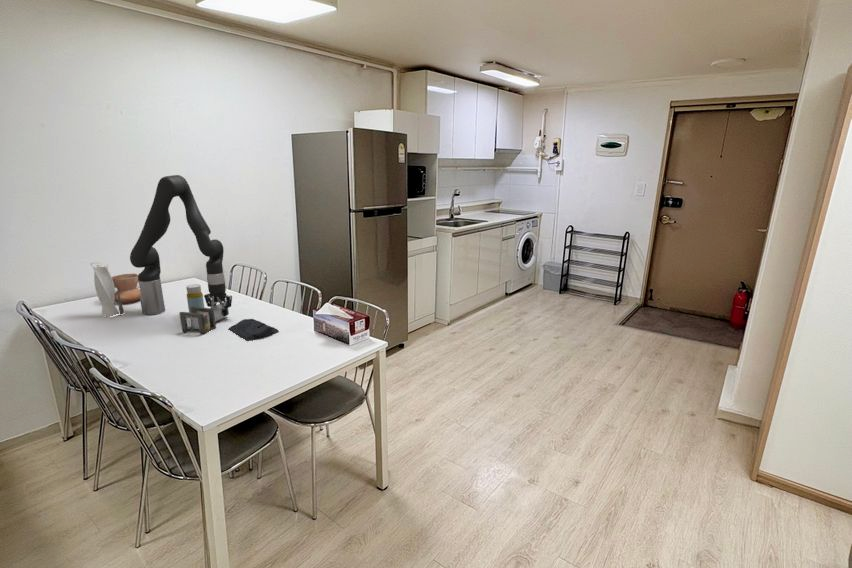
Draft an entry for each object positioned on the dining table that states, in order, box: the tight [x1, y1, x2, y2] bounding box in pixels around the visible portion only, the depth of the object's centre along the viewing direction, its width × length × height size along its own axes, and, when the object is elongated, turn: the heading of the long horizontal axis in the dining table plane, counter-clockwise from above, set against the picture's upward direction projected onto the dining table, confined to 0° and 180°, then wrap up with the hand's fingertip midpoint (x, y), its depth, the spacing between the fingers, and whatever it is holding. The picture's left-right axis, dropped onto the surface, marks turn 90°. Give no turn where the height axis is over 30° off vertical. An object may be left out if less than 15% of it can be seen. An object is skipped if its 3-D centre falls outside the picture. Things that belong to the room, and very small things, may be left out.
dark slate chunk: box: [228, 318, 280, 342], centre depth 199 cm, size 15×22×5 cm
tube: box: [189, 303, 230, 330], centre depth 206 cm, size 20×5×5 cm, turn 168°
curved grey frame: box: [179, 307, 217, 335], centre depth 199 cm, size 11×8×10 cm
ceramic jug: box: [111, 272, 141, 304], centre depth 235 cm, size 18×14×14 cm
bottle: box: [186, 283, 205, 313], centre depth 217 cm, size 7×7×15 cm
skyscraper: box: [89, 261, 125, 318], centre depth 213 cm, size 8×8×28 cm
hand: (220, 315), depth 214 cm, fingers closed on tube, 5 cm apart
